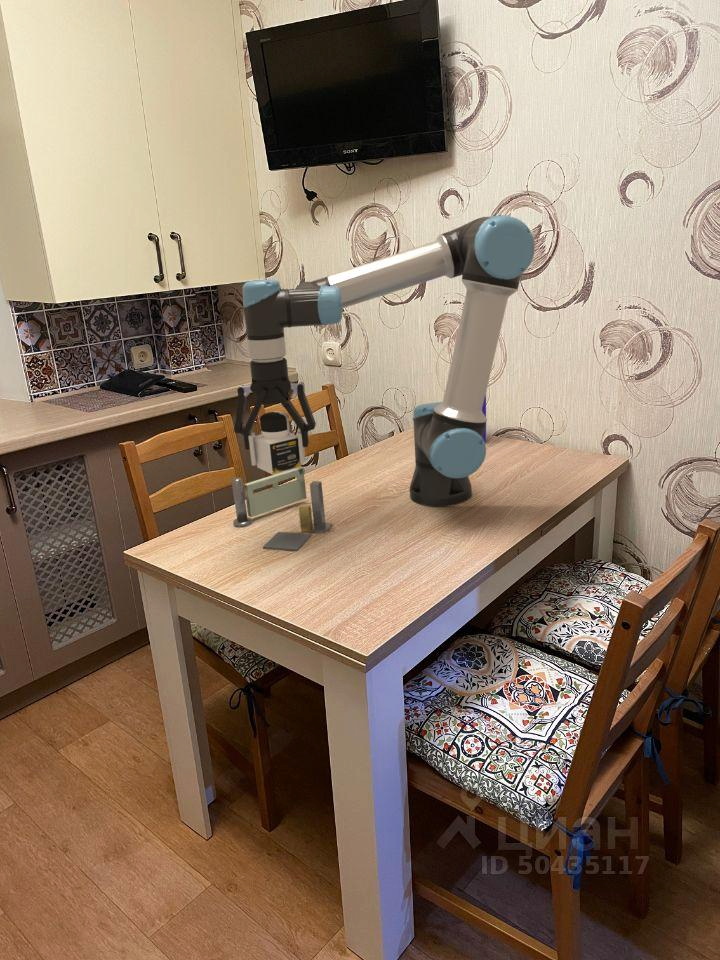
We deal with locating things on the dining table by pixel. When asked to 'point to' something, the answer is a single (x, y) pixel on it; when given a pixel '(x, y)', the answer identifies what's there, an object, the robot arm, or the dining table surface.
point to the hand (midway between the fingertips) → (278, 462)
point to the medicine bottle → (276, 444)
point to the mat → (287, 541)
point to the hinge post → (240, 504)
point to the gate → (275, 492)
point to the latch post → (314, 511)
